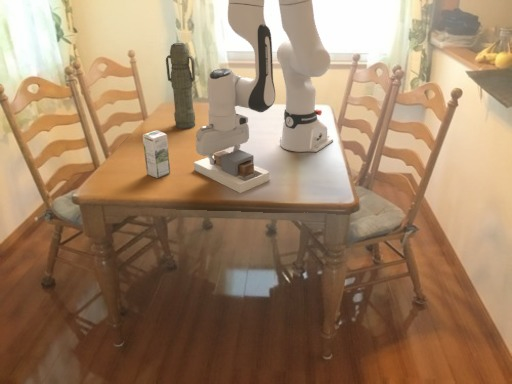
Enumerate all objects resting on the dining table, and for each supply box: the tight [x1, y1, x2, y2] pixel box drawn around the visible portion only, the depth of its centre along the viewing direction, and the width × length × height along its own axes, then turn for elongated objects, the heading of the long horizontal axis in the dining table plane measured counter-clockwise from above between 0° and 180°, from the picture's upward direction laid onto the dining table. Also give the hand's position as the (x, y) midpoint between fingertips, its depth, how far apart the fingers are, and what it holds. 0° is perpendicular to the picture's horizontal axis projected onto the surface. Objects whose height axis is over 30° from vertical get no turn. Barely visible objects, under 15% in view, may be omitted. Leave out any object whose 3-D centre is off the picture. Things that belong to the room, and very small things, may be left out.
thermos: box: [165, 42, 196, 130], centre depth 182 cm, size 9×12×35 cm
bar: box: [213, 150, 255, 177], centre depth 141 cm, size 4×15×4 cm, turn 44°
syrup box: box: [142, 130, 171, 179], centre depth 142 cm, size 6×6×14 cm
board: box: [193, 149, 271, 194], centre depth 142 cm, size 13×24×8 cm, turn 44°
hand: (224, 160), depth 144 cm, fingers open, 8 cm apart
